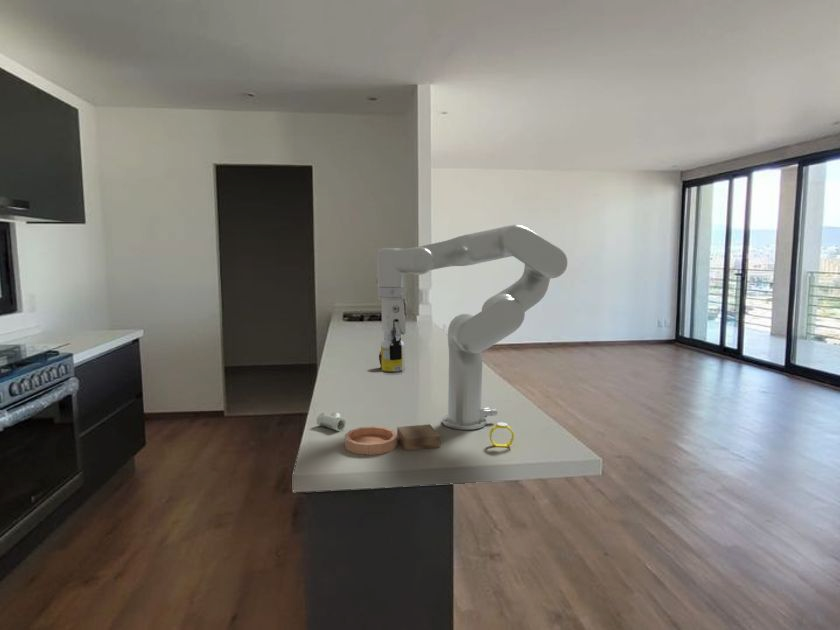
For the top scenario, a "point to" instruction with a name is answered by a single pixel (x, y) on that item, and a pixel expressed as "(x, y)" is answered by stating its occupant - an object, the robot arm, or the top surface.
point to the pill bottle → (391, 365)
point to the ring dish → (370, 440)
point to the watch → (501, 425)
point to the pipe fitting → (331, 421)
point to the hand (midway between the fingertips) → (392, 356)
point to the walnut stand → (418, 437)
